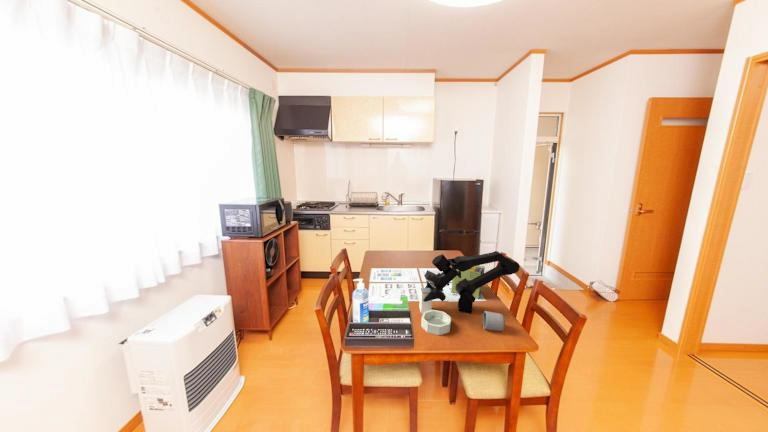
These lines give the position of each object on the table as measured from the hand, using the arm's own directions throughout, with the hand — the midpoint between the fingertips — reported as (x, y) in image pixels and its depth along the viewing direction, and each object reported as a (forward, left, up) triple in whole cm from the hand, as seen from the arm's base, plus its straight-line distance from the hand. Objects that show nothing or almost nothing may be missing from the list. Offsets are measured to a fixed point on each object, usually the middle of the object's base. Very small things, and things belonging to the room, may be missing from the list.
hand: (422, 298), depth 131 cm
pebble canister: (-1, -1, -7) cm, 7 cm away
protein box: (-20, -29, -7) cm, 36 cm away
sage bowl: (-8, +10, -7) cm, 15 cm away
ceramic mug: (-32, +2, -7) cm, 33 cm away
